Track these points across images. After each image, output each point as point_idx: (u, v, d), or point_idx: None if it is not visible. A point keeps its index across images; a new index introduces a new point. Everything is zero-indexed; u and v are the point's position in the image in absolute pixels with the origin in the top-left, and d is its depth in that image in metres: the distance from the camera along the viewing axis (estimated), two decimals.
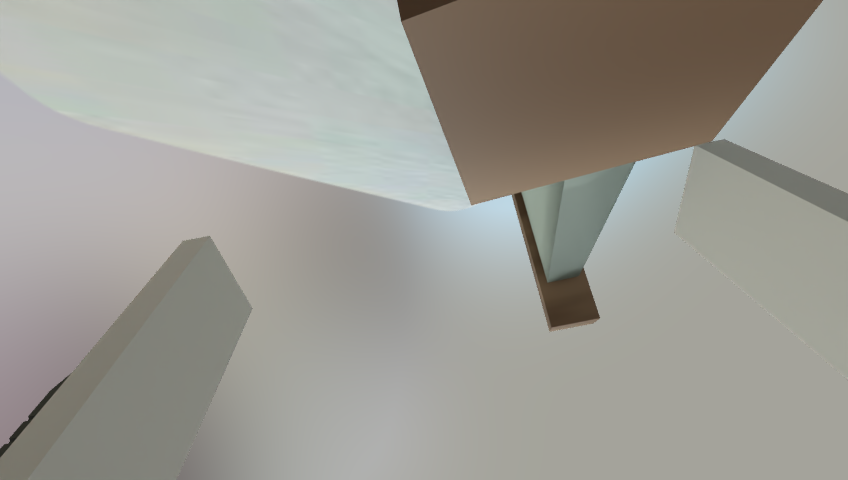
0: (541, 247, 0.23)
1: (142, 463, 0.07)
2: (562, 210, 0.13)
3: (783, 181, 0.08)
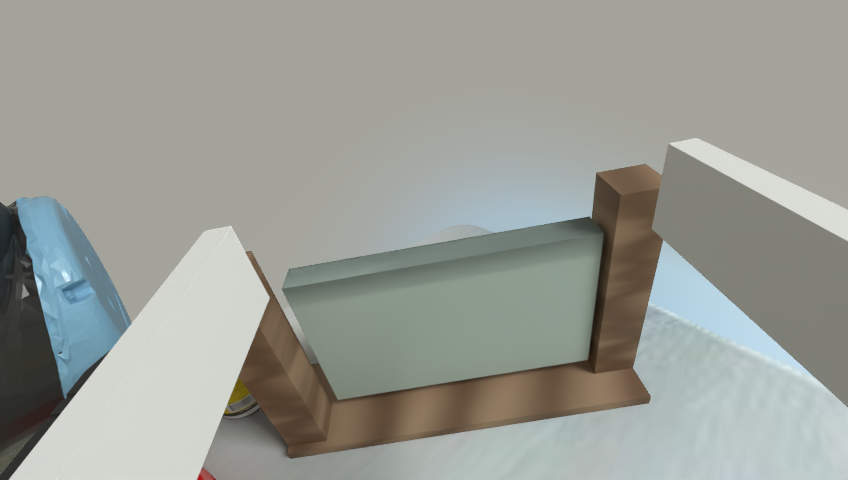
0: (558, 262, 0.24)
1: (176, 439, 0.07)
2: (401, 267, 0.23)
3: (747, 178, 0.08)
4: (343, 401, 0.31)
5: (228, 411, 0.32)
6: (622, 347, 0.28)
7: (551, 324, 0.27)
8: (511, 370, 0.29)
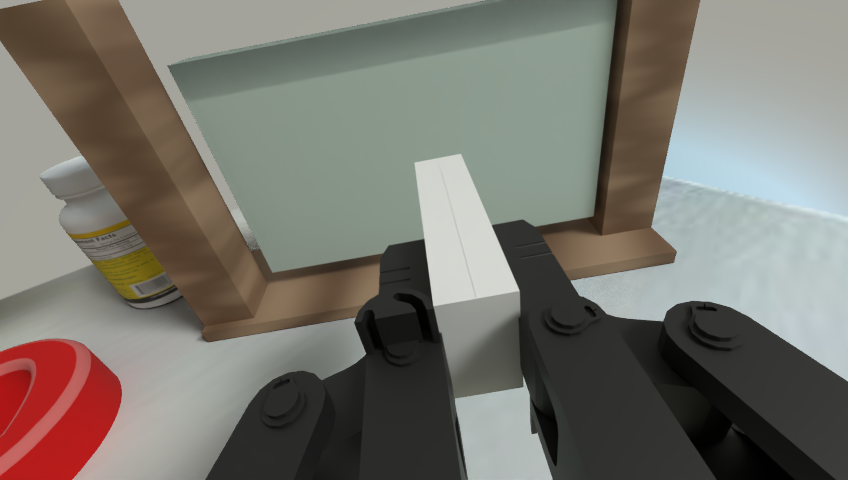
0: (555, 33, 0.17)
1: None
2: (335, 32, 0.16)
3: (455, 189, 0.10)
4: (282, 280, 0.25)
5: (136, 295, 0.25)
6: (639, 191, 0.21)
7: (547, 151, 0.20)
8: None
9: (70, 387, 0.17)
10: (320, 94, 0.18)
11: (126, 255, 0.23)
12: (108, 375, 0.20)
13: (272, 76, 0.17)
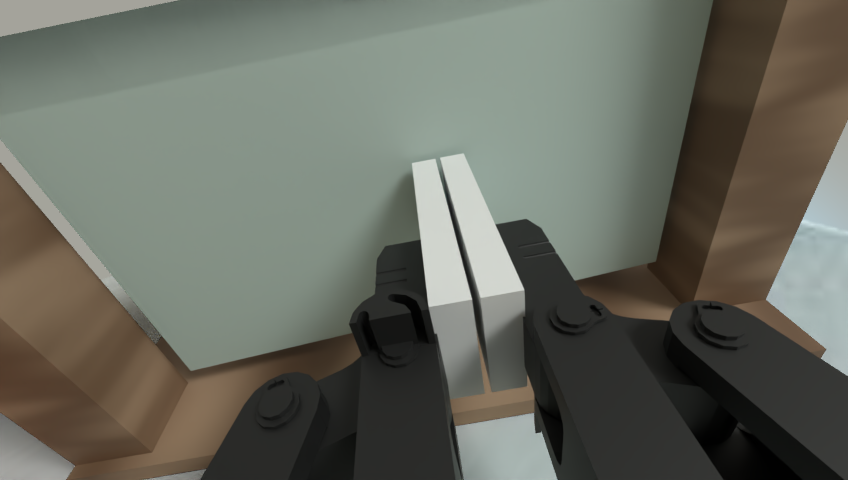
0: None
1: None
2: None
3: (458, 188, 0.10)
4: (209, 376, 0.17)
5: None
6: (757, 250, 0.13)
7: (599, 175, 0.13)
8: None
9: None
10: (234, 98, 0.10)
11: None
12: None
13: (141, 68, 0.10)
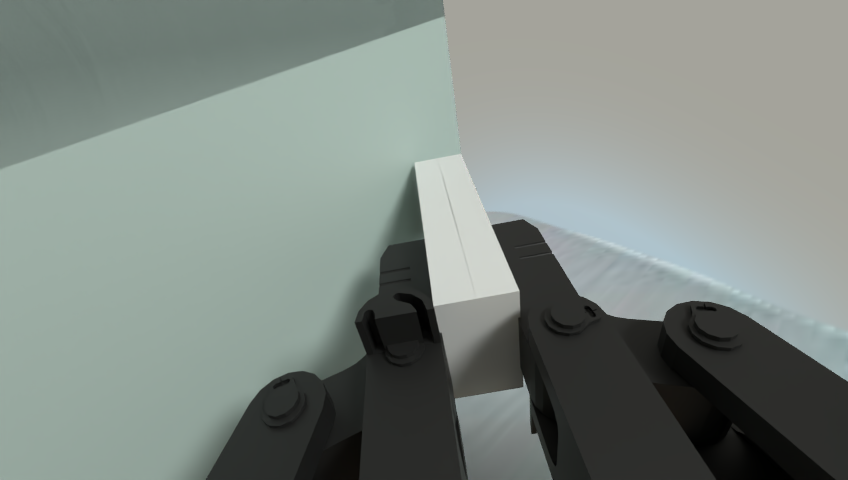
0: (401, 33, 0.10)
1: None
2: None
3: (455, 189, 0.10)
4: None
5: None
6: None
7: None
8: None
9: None
10: None
11: None
12: None
13: None
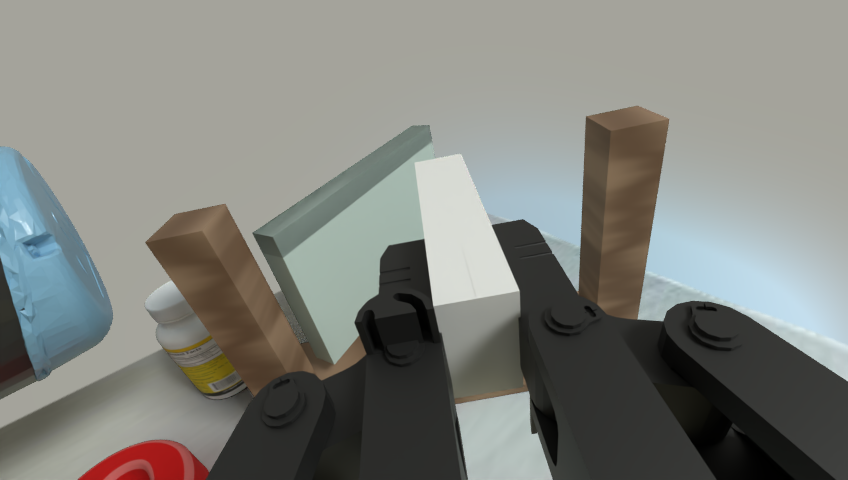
0: (418, 152, 0.36)
1: None
2: (348, 181, 0.28)
3: (455, 189, 0.10)
4: None
5: (212, 390, 0.30)
6: (622, 310, 0.26)
7: None
8: None
9: None
10: (347, 218, 0.28)
11: (207, 362, 0.29)
12: (203, 471, 0.25)
13: (325, 218, 0.26)
